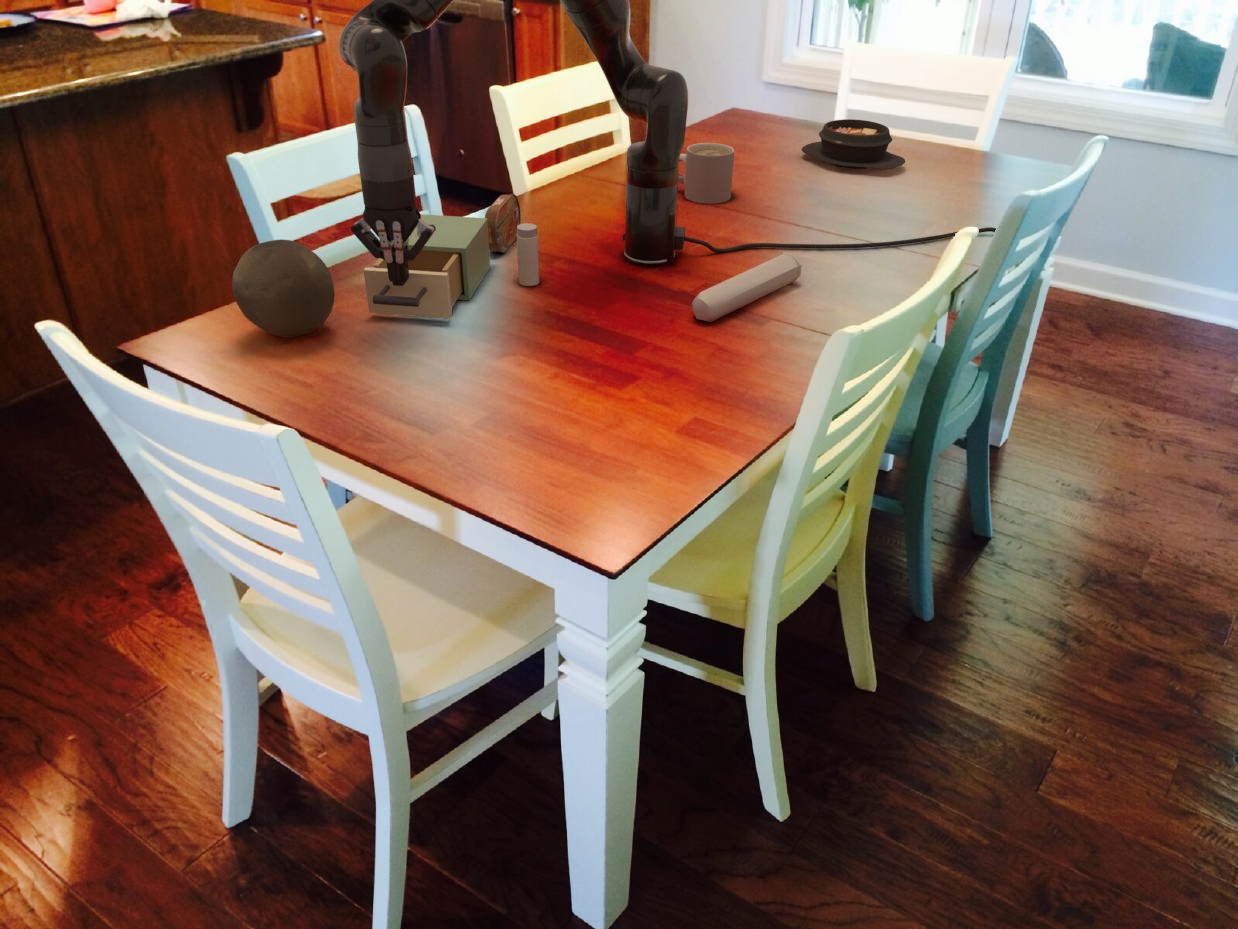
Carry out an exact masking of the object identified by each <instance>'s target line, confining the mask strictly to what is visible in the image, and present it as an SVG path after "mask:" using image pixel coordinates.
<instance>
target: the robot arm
mask: <svg viewBox="0 0 1238 929" xmlns="http://www.w3.org/2000/svg"><path fill="white" fill-rule="evenodd" d="M454 1H455V0H371V1H370V2H369V3H367V5H364V6H363V7H362V8H361V9H360V10H359V11H358V12H356V13H355V14H354V15H353V16H352V18H350V20H349V21H348V22H347V23H346V25H345V26H344V28H343V29H342V31H341V33H340V36H339V41H338V50H339V55H340V57H341V59H342V61H343V62H344V64H346V66H347V67H349V68H350V69H351V70H352V71H355V73H357V78H358V95H359V97H358V98H357V99H356V100H355V101H354V104H353V117H354V118H353V119H354V125H355V134H356V140H357V161H358V162H357V163H358V169H359V177H360V184H361V191H362V200H363V204H364V209H363V212H362V218H360V219H358V220H356V221H355V222H354V224H352V225H351V226H350V231H351V233H352V234H353V235H354V236H355V237H356V238H357V240H358V241H359V242H360V243H361V244H362V245H363V246H364V247H365V248H366V249H367V251H368V252H369V253H370V254H371V255H372V256H373V257H374V258H375V259H379V258H381V259H383V260H385V261H386V263H387V270H388V278H389V280H390V282H393V285H394V286H403V285H404V284H405V283H406V281H407V280H408V279H409V269H408V260H410V261H412V260H414V259H415V257H416V256H417V255H418V254H419V252H420V251H421V250H422V248H423V247H424V246H425V244H426V243H427V241H428V240H429V239H430V237H431V236H432V235H433V233H434V232H435V230H436V227H435V226H434V225H432V224H430V225H428V224H427V223H425V222H424V221H423V220H422V219H421V215H420V214H421V212H420V211H419V209H418V207H417V196H416V186H415V177H414V163H413V156H412V151H411V147H410V143H409V136H408V128H407V120H406V118H407V117H406V112H405V102H406V96H407V84H408V83H407V82H408V61H407V60H408V59H407V54H406V49H405V46H404V43H403V42H404V41H405V40H407V39H408V38H409V37H410V36H411V35H413V34H415V33H420V32H424V31H427V30H428V29H429V28H430V27H432V26H433V25H434V23H436V21H437V20H438V19H439V18H440V17H441V16H442V15H443V13H445V12H446V10H447V9H448V8H449V7H450V6H451V5H452V4H453V2H454ZM559 2H560V4H561V5H562V8H563V9H564V11H565V12H566V14H567V16H568V17H569V19H570V20H571V22H572V23H573V26H575V28H576V29H577V31H578V32H579V34H580V35H581V37H582V38H583V40H584V42H585V43H586V45H587V47H588V49H589V50H590V52H591V54H592V55H593V57H594V59H595V60H596V61H597V63H598V65H599V67H600V68H601V70H602V73H603V75H604V77H605V79H606V81H607V83H608V86H609V87H610V90H611V92H612V94H613V96H614V99H615V101H616V102H617V104H618V106H619V108H620V110H621V112H623V114H624V115H626V116H627V117H628V118H630V119H631V120H633V121H636V122H639V123H642V124H645V125H646V133H645V134H646V135H645V140H641V141H636V142H633V143H632V144H630V145H629V146H628V148H627V149H626V163H625V164H626V166H625V167H626V168H625V169H626V170H625V214H624V215H625V216H624V218H625V219H624V220H625V221H624V234H622V242H624V251H623V257H624V259H625V260H626V261H627V262H629V263H631V264H634V265H638V266H645V267H656V266H657V267H659V266H664V265H674V262H675V259H676V253H677V251H683V250H684V247H685V243H686V242H688V243H693V244H697V245H700V246H703V247H706V248H707V249H708V250H710V251H711V252H713V253H718V254H726V253H732V252H736V251H740V250H744V249H745V250H746V249H751V248H773V249H774V248H775V249H813V250H815V249H819V250H822V249H825V250H827V249H829V250H830V249H835V250H836V249H867V248H880V247H893V246H901V245H902V246H903V245H910V244H917V243H924V242H930V241H937V240H943V239H948V238H954V237H956V236H955V233H957V232H958V231H954V232H948V233H943V234H937V235H931V236H925V237H924V236H923V237H918V238H917V237H916V238H910V239H909V238H908V239H902V240H900V239H899V240H892V241H881V242H866V243H829V244H828V243H776V242H775V243H774V242H754V243H753V242H751V243H744V244H739V245H736V246H732V247H726V248H718V247H715V246H713V245H712V244H711V243H709V242H707V241H705V240H701V239H698V238H693V237H689V236H686V226H678V213H679V203H678V192H679V182H678V174H680V173H679V172H680V171H679V170H680V161H679V157H680V154H682V151H683V148H684V145H685V139H686V130H687V129H686V128H687V121H688V120H687V119H688V110H689V89H688V88H689V87H688V84H687V81H686V78H685V77H684V76H683V74H681V73H680V72H679V71H676V70H673V69H669V68H664V67H660V66H656V65H652V64H650V63H648V62H647V61H646V60H644V57H642V56H641V54H640V53H639V51H638V49H637V47H636V45H635V44H634V42H633V40H632V38H631V34H630V26H631V4H630V0H559ZM416 226H417V228H418V231H417V235H418V236H419V239H418V240H417V242H416V243H415V244H414V246H413V247H412V248H411V249H409V250H408V243H409V236H410V235H411V234H412V232H413V231H414V229H415V228H416ZM978 229H979V233H978V234H982V233H988V232H990V233H991V232H992V233H995V230H996V227H989V226H988V227H981V228H978ZM953 236H954V237H953Z"/></svg>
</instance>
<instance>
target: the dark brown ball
mask: <svg viewBox="0 0 1238 929" xmlns="http://www.w3.org/2000/svg"><path fill="white" fill-rule="evenodd" d="M231 281H232V283H231V284H232V285H231V287H232V293H233V294H232V295H233V297H234V299H235V303H236V304H237V306H238V308H239V309H240V311H241V313H242V315H243V316H244V317H245V318H246V319H247V320H248V321H249V322H251V323H252V324H253V325H255V326H256V327H257V328H259V329H260V330H262V331H263V332H266V333H268V334H271V335H275V336H276V337H281V338H294V337H299V336H304V335H307V334H310V333H311V332H314V331H316V330H317V329H319V328H320V327H321V326H322V325H323V324H324V323H325V322H326V321H327V319H328V317H329V316H330V315H331V313H332V310H333V308H334V304H335V298H336V297H335V296H336V294H335V285H334V282H333V279H332V275H331V272H330V270H329V268H328V267H327V265H326V263H325V262H324V261H323V260H322V258H321V257H320V256H319V255H318V254H316V253H315V252H314V251H312V250H311V249H310V248H308V247H307V246H306V245H304V244H303V243H300V242H297V241H295V240H290V239H273V240H268V241H264V242H259V243H258V244H255V245H254V246H252V247H250V248H248V249H247V250H246V251H245V252H244V253H243V254H242V255H241V257H240V259H239V261H238V263H237V265H236V266H235V268H234V271H233V274H232V280H231Z"/></svg>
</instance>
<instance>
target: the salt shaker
mask: <svg viewBox="0 0 1238 929" xmlns="http://www.w3.org/2000/svg"><path fill="white" fill-rule="evenodd" d="M516 246H517V247H516V250H517V273H518V274H517V276H518V283H519V285H521V286H524V287H532V286H533V287H534V286H537V285H539V283H540V256H539V254H540V253H539V251H540V250H539V233H538V225H536V224H535V223H530V222H528V223H527V222H526V223H524V222H523V223H520V225H518V226H517V238H516Z"/></svg>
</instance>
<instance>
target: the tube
mask: <svg viewBox="0 0 1238 929" xmlns="http://www.w3.org/2000/svg"><path fill="white" fill-rule="evenodd" d="M802 266H803V264H802V263H801V261H800V260H799V259H798V258H797V256H796V255H795V254H794V253H790V252H786V251H783V252H782V253H781V254H780V255H777V256H776V257H773V258H771V259H769V260H767V261H765V262H763V263H760V264H758V265H756V266H753V267H752V268H750V269H747V270H744V271H743V272H741V273H739V274H736V275H734V276H732V277H730V278H728V279H726V280H723V281H722V282H720V283H717V284H715V285H713V286H710V287H708V288H706V289H704V290H702V291H700V292H699V293H698V294H697V296H696V297H695V298H694V299H693V300H692V303H691V307H692V312H693V314H694V316H695V318H696V320H700V321H705V322H707V323H713V322H714V321H716V320H718V319H720V318H722V317H724V316H727V315H728V314H731V313H732V312H734V311H737V310H739V309H741V308H742V307H745V306H746V305H748V304H751V303H753V302H754V301H756V300H760V298H763V297H765V296H767V295H770V293H773V292H775V291H777V290H779V289H781V288H783V287H785V286H787V285H789V284H794V283H795V282H796V281H797V280H798V279H799V278H801V274H802Z"/></svg>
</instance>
